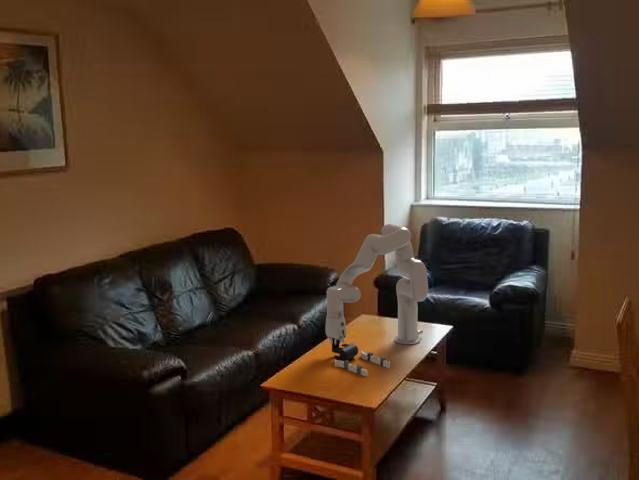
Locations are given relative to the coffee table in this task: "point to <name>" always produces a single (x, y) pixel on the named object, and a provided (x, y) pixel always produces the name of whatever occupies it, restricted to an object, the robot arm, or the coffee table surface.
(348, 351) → the end cap
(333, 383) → the coffee table surface
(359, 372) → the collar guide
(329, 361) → the coffee table surface
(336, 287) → the robot arm
